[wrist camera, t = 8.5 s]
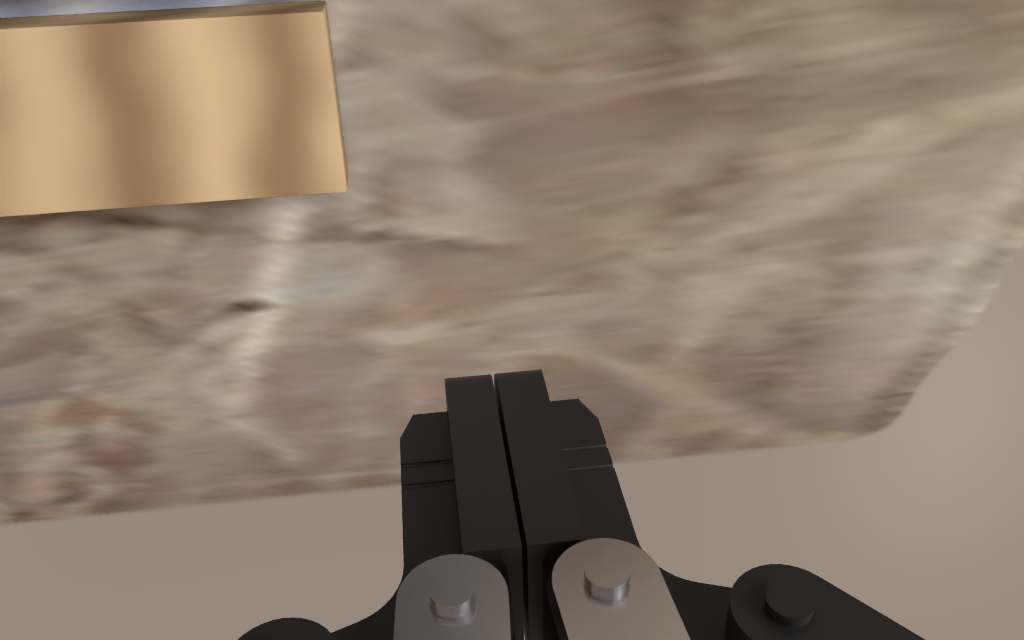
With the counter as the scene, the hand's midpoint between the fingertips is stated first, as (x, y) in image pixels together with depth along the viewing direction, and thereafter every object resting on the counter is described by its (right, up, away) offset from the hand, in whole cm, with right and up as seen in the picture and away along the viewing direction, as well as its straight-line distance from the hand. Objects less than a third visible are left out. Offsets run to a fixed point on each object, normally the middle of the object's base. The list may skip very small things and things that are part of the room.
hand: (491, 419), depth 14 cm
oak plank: (-15, +11, +25) cm, 31 cm away
